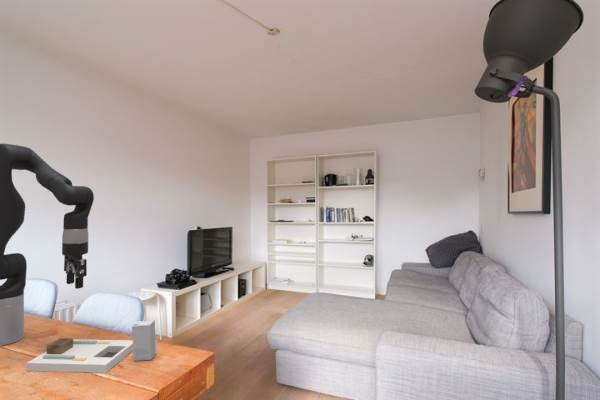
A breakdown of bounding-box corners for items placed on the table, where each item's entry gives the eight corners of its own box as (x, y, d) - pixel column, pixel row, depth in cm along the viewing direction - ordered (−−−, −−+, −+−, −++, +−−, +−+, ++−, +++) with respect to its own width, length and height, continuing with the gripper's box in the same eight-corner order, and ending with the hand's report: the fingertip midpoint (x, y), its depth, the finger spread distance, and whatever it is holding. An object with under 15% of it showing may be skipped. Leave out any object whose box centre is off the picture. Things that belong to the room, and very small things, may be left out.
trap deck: (26, 370, 93) (26, 360, 93) (68, 346, 109) (68, 337, 109) (105, 372, 92) (105, 362, 92) (136, 347, 108) (136, 338, 108)
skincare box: (156, 354, 103) (156, 319, 103) (151, 361, 99) (150, 324, 99) (137, 355, 103) (137, 320, 103) (131, 362, 98) (131, 325, 98)
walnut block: (46, 354, 99) (46, 345, 99) (59, 346, 104) (59, 338, 104) (60, 354, 98) (60, 345, 98) (73, 346, 103) (73, 338, 103)
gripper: (55, 240, 108) (55, 284, 108) (70, 244, 99) (69, 292, 99) (80, 238, 114) (79, 280, 114) (95, 242, 105) (94, 287, 106)
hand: (74, 285), depth 107 cm, fingers open, 8 cm apart
